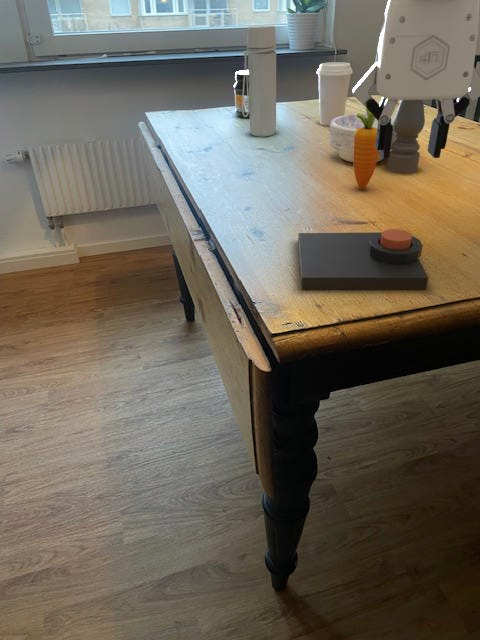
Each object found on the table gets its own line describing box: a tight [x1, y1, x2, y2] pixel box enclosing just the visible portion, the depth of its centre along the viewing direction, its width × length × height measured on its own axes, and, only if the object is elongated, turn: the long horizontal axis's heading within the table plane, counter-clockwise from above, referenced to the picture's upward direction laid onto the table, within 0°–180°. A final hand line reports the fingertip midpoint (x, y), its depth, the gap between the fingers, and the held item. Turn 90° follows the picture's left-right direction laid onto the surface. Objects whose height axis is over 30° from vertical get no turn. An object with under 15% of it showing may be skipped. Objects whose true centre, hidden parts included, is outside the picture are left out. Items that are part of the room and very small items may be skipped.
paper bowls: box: [328, 113, 397, 163], centre depth 111 cm, size 15×15×8 cm
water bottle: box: [242, 24, 278, 138], centre depth 127 cm, size 9×8×25 cm
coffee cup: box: [316, 61, 353, 127], centre depth 138 cm, size 10×10×15 cm
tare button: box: [380, 228, 413, 250], centre depth 68 cm, size 4×4×2 cm
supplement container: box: [233, 69, 250, 119], centre depth 151 cm, size 10×10×12 cm
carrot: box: [352, 107, 379, 191], centre depth 92 cm, size 5×5×15 cm
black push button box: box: [297, 231, 429, 291], centre depth 70 cm, size 16×14×4 cm
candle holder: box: [386, 99, 426, 175], centre depth 98 cm, size 6×6×25 cm
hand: (408, 153), depth 62 cm, fingers open, 5 cm apart
